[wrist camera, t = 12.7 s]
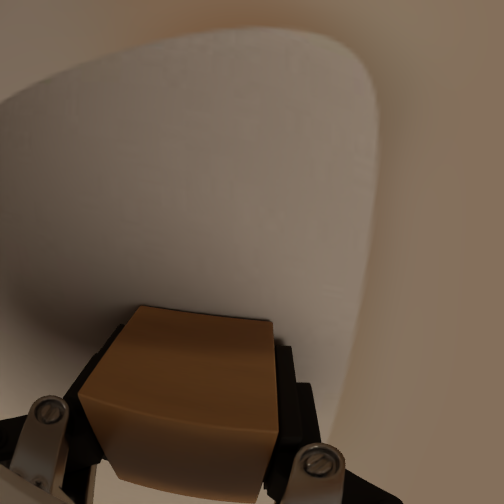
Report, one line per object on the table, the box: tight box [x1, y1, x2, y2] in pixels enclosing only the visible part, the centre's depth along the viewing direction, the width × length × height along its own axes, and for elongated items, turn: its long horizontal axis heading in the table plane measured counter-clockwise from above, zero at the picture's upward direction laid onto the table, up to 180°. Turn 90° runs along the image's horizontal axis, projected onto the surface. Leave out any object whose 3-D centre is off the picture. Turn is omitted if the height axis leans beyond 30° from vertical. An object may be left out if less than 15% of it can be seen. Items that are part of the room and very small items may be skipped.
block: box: [78, 306, 279, 503], centre depth 8 cm, size 4×4×4 cm
